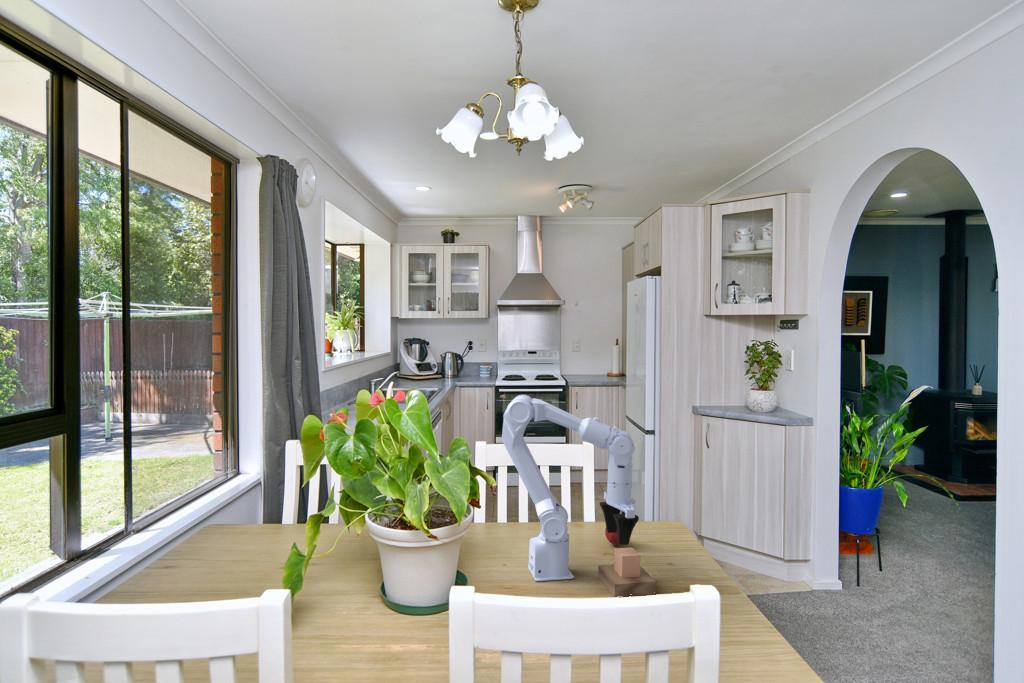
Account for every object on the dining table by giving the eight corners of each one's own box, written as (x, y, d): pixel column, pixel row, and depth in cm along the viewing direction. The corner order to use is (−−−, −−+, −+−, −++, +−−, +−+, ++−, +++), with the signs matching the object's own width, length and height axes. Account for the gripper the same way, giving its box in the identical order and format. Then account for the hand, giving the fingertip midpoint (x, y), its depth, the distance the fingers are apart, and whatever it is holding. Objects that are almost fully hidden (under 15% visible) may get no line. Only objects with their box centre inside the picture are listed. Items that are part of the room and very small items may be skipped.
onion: (625, 551, 148) (626, 521, 148) (604, 548, 149) (605, 519, 149) (625, 543, 153) (626, 514, 153) (605, 541, 155) (605, 513, 154)
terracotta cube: (621, 578, 124) (622, 556, 124) (613, 569, 129) (614, 548, 129) (639, 576, 125) (640, 555, 125) (631, 568, 130) (632, 547, 130)
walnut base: (614, 597, 121) (614, 584, 121) (598, 577, 131) (598, 565, 131) (655, 594, 123) (656, 581, 123) (636, 575, 133) (637, 562, 133)
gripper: (648, 490, 124) (646, 549, 125) (623, 473, 139) (621, 526, 139) (619, 490, 123) (616, 550, 123) (596, 474, 137) (595, 527, 137)
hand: (617, 538), depth 131 cm, fingers open, 7 cm apart
